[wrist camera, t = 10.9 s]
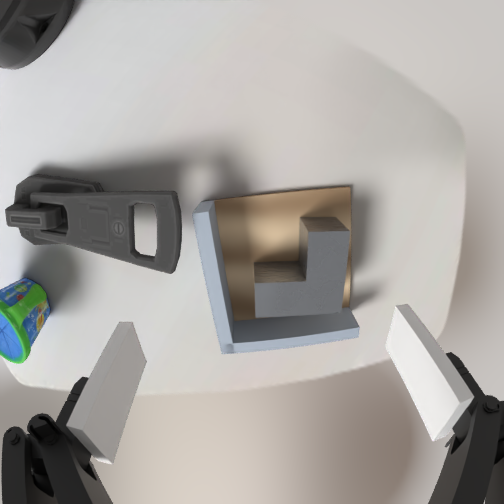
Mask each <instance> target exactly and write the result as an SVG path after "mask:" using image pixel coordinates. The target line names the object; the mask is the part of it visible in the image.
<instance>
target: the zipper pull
mask: <svg viewBox="0 0 504 504" xmlns="http://www.w3.org/2000/svg"><path fill="white" fill-rule="evenodd" d="M136 203H146V204H152V205H153V206H154V207H155V211H156V216H157V250H156V255H155V256H149V255H143V254H140V253H139V252H138V251H137V250H136V249H135V234H134V205H135V204H136ZM5 213H6V221H7V225H8V226H11V227H19V230H20V233H21V236H22V237H24V238H25V239H27V240H28V241H30V242H31V243H33V244H34V245H41V244H67V245H71V246H75V247H78V248H81V249H85V250H88V251H91V252H95V253H98V254H101V255H105V256H108V257H112V258H115V259H119V260H122V261H126V262H129V263H132V264H135V265H139V266H142V267H146V268H150V269H154V270H157V271H161V272H165V273H169V274H172V273H173V272H174V271H175V270H176V266H177V263H178V260H179V257H180V250H181V242H182V220H181V210H180V205H179V201H178V196H177V193H176V192H175V191H127V192H103V189H102V187H101V185H100V184H99V183H97V182H91V181H84V180H77V179H70V178H62V177H54V176H48V175H41V174H37V175H33V176H30V177H27V178H26V179H25V180H23V181H22V182H21V183H19V184H18V185H17V186H16V192H15V200H14V204H13V205H11V206H9V207H8V208H6V209H5Z"/></svg>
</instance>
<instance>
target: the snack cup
mask: <svg viewBox="0 0 504 504" xmlns="http://www.w3.org/2000/svg"><path fill="white" fill-rule="evenodd" d="M49 313H50V307H49V303H48V300H47V295H46V292H45V291H44V290H43V289H42V287H41V286H40V285H38V284H36V283H35V282H33V281H32V280H28V279H27V278H23V279H21V280H19V281H16V282H14V283H12V284H10V285H9V286H7V287H5V288H3V289H1V290H0V355H1V356H2V357H4V358H5V359H7V360H8V361H10V362H13V363H17V364H20V363H23V362H24V361H25V360H26V359H27V357H28V356H29V354H30V351H31V346H32V344H33V343H34V341H35V339H36V338H37V336H38V334H39V332H40V330H41V328H42V327H43V325H44V324H45V321H46V320H47V318H48V316H49Z"/></svg>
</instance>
